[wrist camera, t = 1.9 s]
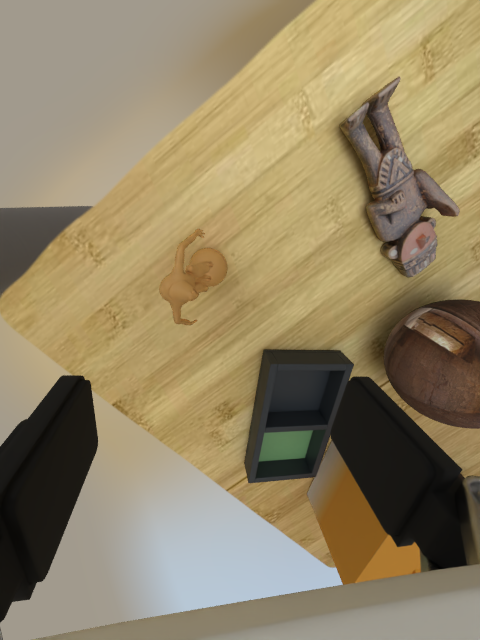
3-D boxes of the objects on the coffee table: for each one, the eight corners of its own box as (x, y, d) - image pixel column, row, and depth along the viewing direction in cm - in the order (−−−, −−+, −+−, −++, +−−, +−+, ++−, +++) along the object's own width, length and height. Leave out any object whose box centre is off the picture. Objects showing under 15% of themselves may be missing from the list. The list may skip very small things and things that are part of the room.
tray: (244, 462, 44) (248, 483, 40) (263, 349, 35) (270, 364, 32) (307, 457, 46) (316, 477, 43) (340, 350, 37) (354, 364, 34)
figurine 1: (220, 299, 31) (236, 351, 20) (169, 295, 30) (155, 348, 19) (229, 227, 28) (253, 242, 17) (171, 219, 27) (158, 229, 16)
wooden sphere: (453, 353, 41) (580, 425, 28) (367, 389, 41) (452, 478, 28) (456, 267, 35) (623, 307, 21) (353, 310, 35) (455, 377, 21)
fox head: (390, 495, 56) (485, 634, 38) (304, 499, 51) (365, 661, 33) (430, 434, 49) (568, 567, 31) (335, 431, 44) (434, 587, 26)
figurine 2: (427, 56, 20) (474, 256, 29) (384, 79, 25) (436, 247, 34) (350, 119, 21) (418, 293, 30) (323, 131, 26) (389, 279, 35)
